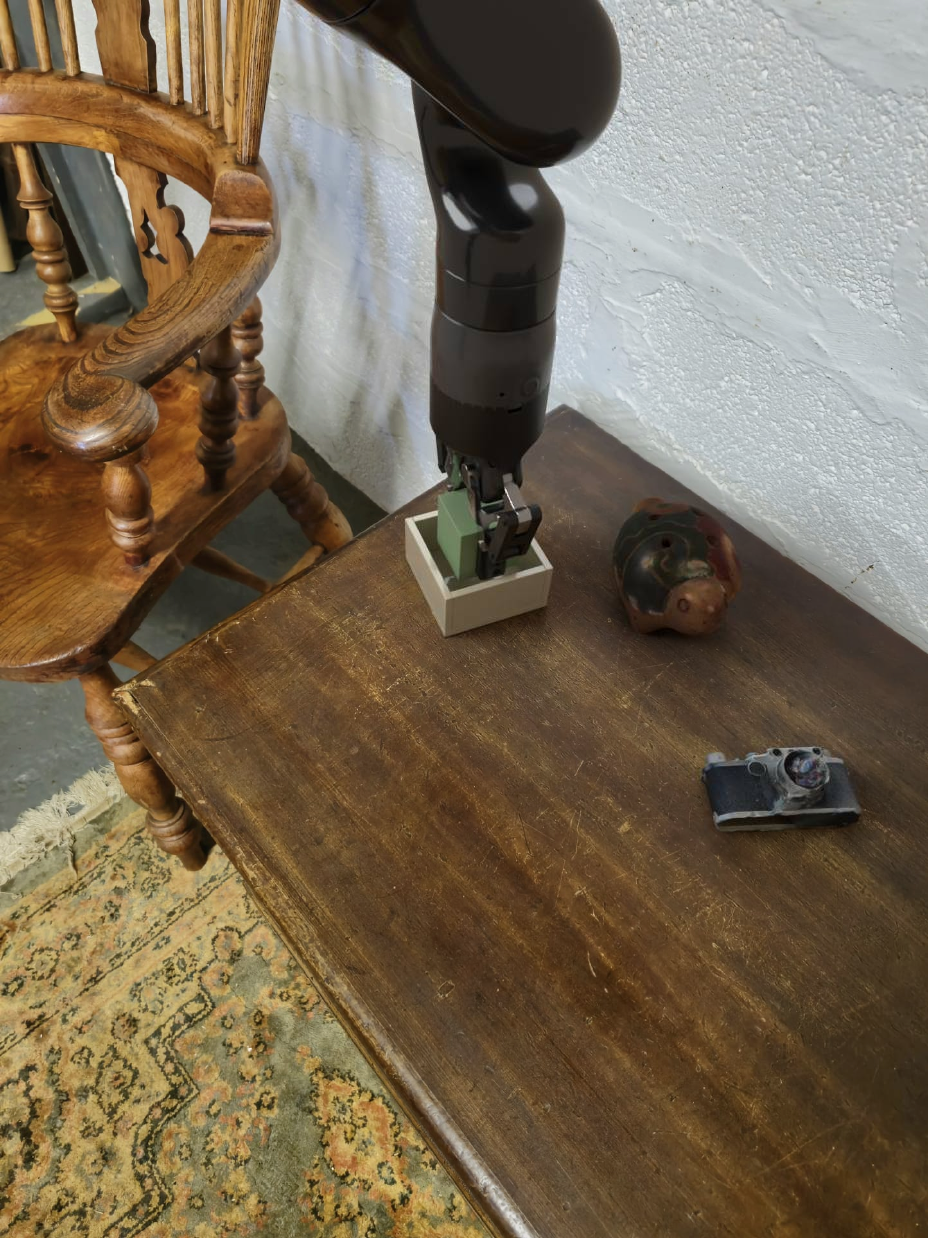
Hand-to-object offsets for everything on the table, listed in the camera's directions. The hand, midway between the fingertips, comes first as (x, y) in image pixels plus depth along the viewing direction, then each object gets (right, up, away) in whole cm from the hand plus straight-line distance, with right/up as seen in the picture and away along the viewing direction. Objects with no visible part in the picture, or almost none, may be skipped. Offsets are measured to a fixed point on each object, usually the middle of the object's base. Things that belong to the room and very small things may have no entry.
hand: (477, 550), depth 65 cm
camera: (+20, -18, -8) cm, 28 cm away
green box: (0, 0, 0) cm, 0 cm away
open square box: (0, -2, +3) cm, 4 cm away
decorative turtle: (+15, -4, +3) cm, 16 cm away
